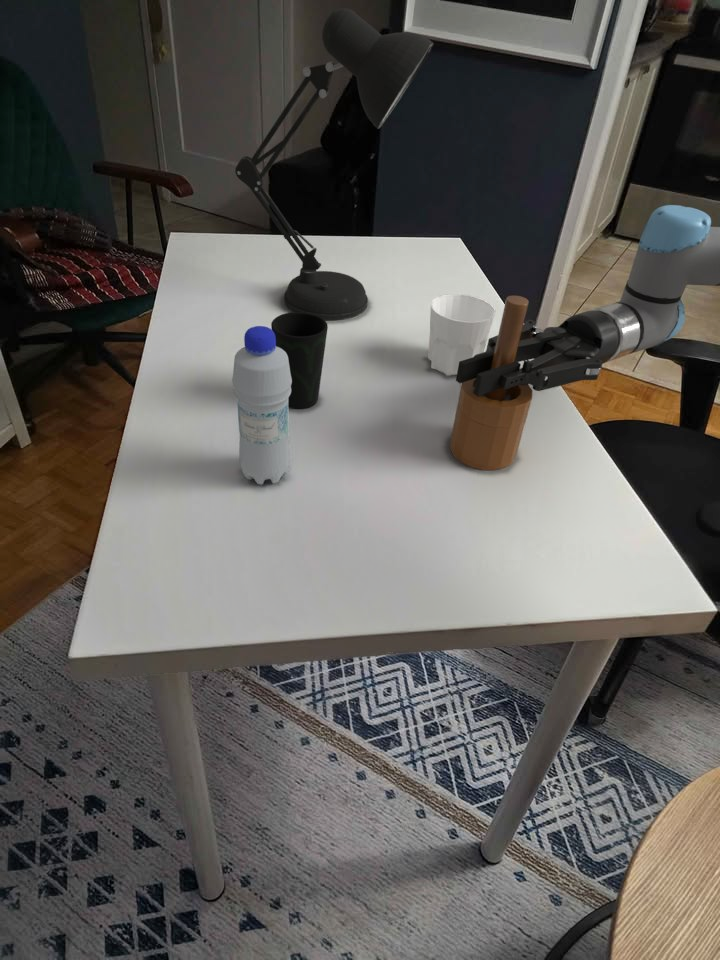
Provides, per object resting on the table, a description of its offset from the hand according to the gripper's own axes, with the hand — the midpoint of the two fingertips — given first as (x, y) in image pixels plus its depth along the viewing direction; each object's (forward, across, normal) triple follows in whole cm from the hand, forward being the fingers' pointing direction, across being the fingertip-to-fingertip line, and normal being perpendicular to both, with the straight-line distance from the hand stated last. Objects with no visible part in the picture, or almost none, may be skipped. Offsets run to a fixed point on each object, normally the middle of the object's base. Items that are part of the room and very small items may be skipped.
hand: (468, 378), depth 78 cm
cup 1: (+10, +23, -13) cm, 28 cm away
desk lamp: (-11, +49, -13) cm, 52 cm away
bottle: (+23, +10, -13) cm, 28 cm away
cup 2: (-17, +20, -13) cm, 30 cm away
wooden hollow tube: (-5, 0, -13) cm, 14 cm away
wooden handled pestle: (-5, 0, -11) cm, 12 cm away
